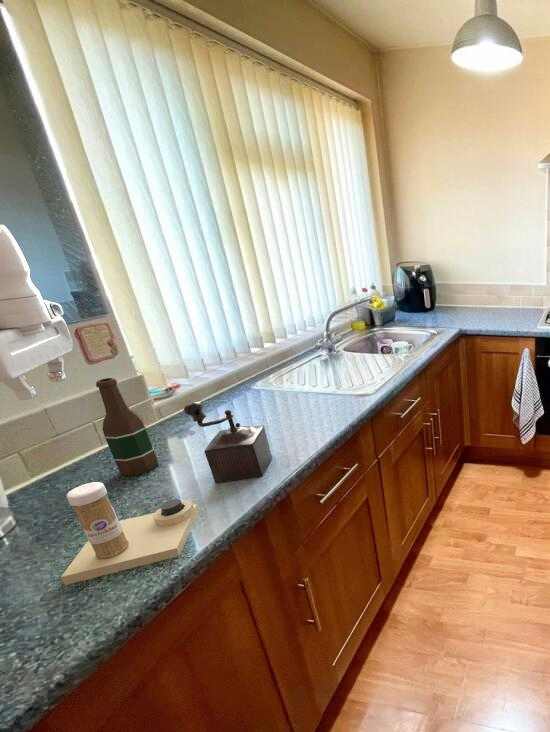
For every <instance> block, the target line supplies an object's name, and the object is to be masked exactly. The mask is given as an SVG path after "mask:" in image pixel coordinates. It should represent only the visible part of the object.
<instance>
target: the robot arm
mask: <svg viewBox="0 0 550 732" xmlns="http://www.w3.org/2000/svg"><path fill="white" fill-rule="evenodd" d="M30 271H31V270H30V267H29V265H28V263H27V260H26V258H25V256H24V253H23V252H22V250H21V248H20V246H19V244H18V242H17V241H16V239H15V237H14V236H13V234H12V233H11V232H10V230H9V229H8V228H7V226H5V224H4V223H2V222H0V383H1V382H3V384H4V385H5V386H6V387H8V388H9V390H11V391H13V392H14V393H15V395H16V397H17V399H18V400H19V401H28V400H32V399H34V398H35V397H37V396H38V393H37V391H36V388H35V386H30V385H29V384H28V383H27V382H26V380H27V377H26V376H25V375H26V374H27V373H29V372H31V371H33V370H35V369H38V368H39V367H42V366H44V365H45V364H47V369H48V373H47V374H46V375H47V377H48V378H49V381H50V382H51V383H59V382H60V383H61V382H62V381H64V380H66V379H67V375H66V373H65V360H64V358H63V356H65V355H67V354H68V353H70V352H72V351H73V348H74V342H73V338H72V335H71V333H70V330H69V328H68V325H67V322H66V321H65V319H64V318H63V315H64V309H63V307H62V305H61V304H59V303H57V302H53V301H49V300H46V299H43V297H42V295H41V292H40V291H39V289H38V288H37V287H36V286H35V285H34V283H33V281H32V280H31V276H30Z"/></svg>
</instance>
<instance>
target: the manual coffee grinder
mask: <svg viewBox="0 0 550 732" xmlns="http://www.w3.org/2000/svg"><path fill="white" fill-rule="evenodd" d="M203 409H204V405H203V404H202V403H201V402H200V401H195V400H194V401H191V402H187V403H186V405H184V406H183V413H184V414H186V415H188V416H190V417H192V418H193V419H192V422H196V423H197V425H198V427H201V428H206V427H210V426H214V425H218V424H221V423H224V422H226V421H228V424H229V428H228V429H221V430H219V431H218V432H217V433H216V435H214V437H213V438H212V440H211V441H210V442H209V443H208V445H207V446H206V447H205V449H204V451H203V452H204V455H205V457H206V461H207V463H208V466H209V470H210V471H211V475H212V478H213V481H214V484H217V485H218V484H226V483H231V482H232V483H233V482H240V481H245V480H251V479H257V478H262V477H264V475H265V473H266V471H267V470H268V467H269V465H270V463H271V462H272V459H273V454H272V452H271V447H270V443H269V439H268V436H267V432H266V428H265V425H263V424H262V425H254V426H251V425H241V423H239V422H237V423H234V420H233V419H234V415H233V414H232V411H231V410H230V409H226V410H225V411H224V415H225V417H223V418H220V419H216V420H213V421H212V420H211V421H209V422H208V421H207V422H204V420H205V419H206V418H207V415H206V414H205V413H204V412H203Z"/></svg>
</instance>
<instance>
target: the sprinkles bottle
mask: <svg viewBox="0 0 550 732" xmlns="http://www.w3.org/2000/svg"><path fill="white" fill-rule="evenodd" d="M66 499H67V502H68V503H69V505H70V507H72V508H73V510H74V513H75V515H76V517H77V518H78V521H79V523H80V525H81V527H82V529H83V532H84V534H85V536H86V539H87V541H88V540H89V542H90V543H91V546H92V547H93V549H94V551H95V556H96V557H97V558H100V559H105V558H109V557H113V556H115V555H117V554H119V553H121V552H122V551H124V550H125V549H126V548H127V547H128V545H129V541H128V540H127V539H126V537H125V535H124V532H123V529H122V527H121V524H120V522H119V521H120V520H119V518H118V516H117V513H116V511H115V509H114V507H113V506H112V503H111V500H110V499H109V497H108V490H107V488H106V486H105V484H104V483H103V482H101V481H93V482H88V483H84V484H80V485H78V486H76V487H74V488H73V489H71V490H69V491H68V492H67V494H66Z"/></svg>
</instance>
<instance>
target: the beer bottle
mask: <svg viewBox="0 0 550 732" xmlns="http://www.w3.org/2000/svg"><path fill="white" fill-rule="evenodd" d="M95 386H96V388H98V390H99V393H100V396H101V400H102V402H103V406H104V410H105V416H104V418H103V421H102V434H103V437H104V438H105V442H106V444H107V445H108V448H109V451H110V454H111V456H112V457H113V460H114V462H115V464H116V467H117V469H118V471H119V473H120V475H121V476H123V477H135V476H139V475H143V474H146V473H148V472H151V471H152V470H154V469H155V468H157V467H158V466H159V458H158V455H157V452H156V449H155V446H154V444H153V441H152V438H151V436H150V433H149V430H148V428H147V425H146V422H145V421H144V418H143V416H141V415H140V414H139V412H138V411H136V410H134V409H133V408H130V406H129V405H128V404H127V402H126V400H125V398H124V396H123V393H122V392H121V390H120V388H119V385H118V380H117V379H116V378H115V377H106V378H100V379H98V380H96V381H95Z"/></svg>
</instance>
